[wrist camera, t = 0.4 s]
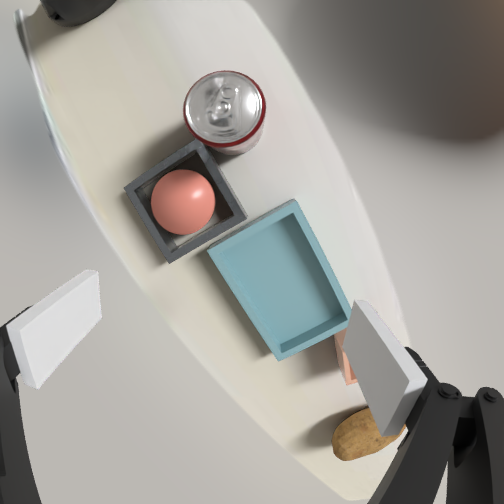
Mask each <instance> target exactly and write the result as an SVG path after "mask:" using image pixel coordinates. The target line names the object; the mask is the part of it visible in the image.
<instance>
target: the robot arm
mask: <svg viewBox="0 0 504 504" xmlns="http://www.w3.org/2000/svg"><path fill="white" fill-rule="evenodd" d="M40 1H41V3H42V5H43V7H44V9H45V11H46V13H47V15H48V17H49V18H50V19H51V20H53V21H54V22H56V23H57V24H59V25H61V26H66V27H70V26H76V25H80V24H82V23H85V22H87V21H89V20H91V19H93V18H95V17H96V16H98V15H99V14H101V13H102V12H104V11H105V10H106V9H107V8H109V7H110V6H111V5H112V4H113V3H114V2H115V1H116V0H40ZM101 319H102V314H101V304H100V292H99V279H98V271H94V270H88V269H86V270H84V271H83V272H81V273H80V274H78V275H77V276H75V277H74V278H72V279H71V280H69V281H68V282H66V283H65V284H63V285H62V286H60V287H59V288H57V289H56V290H55V291H53V292H52V293H50V294H49V295H47V296H46V297H44V298H43V299H42V300H40V301H39V302H37V303H36V304H35V305H32V306H30V307H27V308H26V309H25V310H23V311H22V312H21V313H19V314H18V315H17V316H16V317H14V318H12V319H11V320H10V321H8V322H7V323H6V324H4V325H3V326H2V327H0V504H42V503H41V500H40V497H39V494H38V490H37V487H36V484H35V480H34V476H33V473H32V469H31V464H30V460H29V456H28V451H27V446H26V441H25V435H24V429H23V423H22V417H21V409H20V399H19V389H18V383H17V380H16V376H17V375H18V374H19V373H21V376H22V379H23V381H24V384H25V385H28V386H30V387H32V388H35V389H37V390H38V389H39V388H40V386H41V385H42V384H43V383H44V382H45V380H46V379H47V378H48V377H49V376H50V375H51V374H52V372H53V371H54V370H55V369H56V368H57V367H58V366H59V365H60V363H61V362H62V361H63V360H64V359H65V358H66V357H67V355H68V354H69V353H70V352H71V351H72V350H73V349H74V348H75V347H76V345H77V344H78V343H79V342H80V341H81V340H82V339H83V338H84V337H85V336H86V335H87V334H88V332H89V331H90V330H91V329H92V328H93V327H94V326H95V325H96V324H97V323H98V322H99V321H100V320H101ZM342 347H343V349H344V352H345V354H346V356H347V358H348V361H349V363H350V365H351V367H352V369H353V372H354V374H355V376H356V379H357V381H358V383H359V385H360V388H361V390H362V392H363V395H364V397H365V399H366V402H367V404H368V406H369V409H370V411H371V413H372V416H373V418H374V420H375V423H376V425H377V428H378V430H379V432H380V435H381V437H385V436H392V435H399V433H400V431H401V430H402V428H403V426H404V424H405V425H406V427H407V429H408V432H407V434H406V436H405V437H404V439H403V440H402V442H401V444H400V445H399V447H398V448H397V449H398V452H397V453H396V455H395V457H394V459H393V461H392V463H391V465H390V467H389V468H388V470H387V472H386V474H385V476H384V477H383V479H382V481H381V482H380V484H379V486H378V488H377V489H376V491H375V492H374V494H373V496H372V497H371V499H370V500H369V502H368V503H367V504H433V502H434V499H435V497H436V494H437V491H438V488H439V486H440V483H441V480H442V477H443V474H444V471H445V468H446V464H447V461H448V477H447V497H446V504H504V398H503V397H502V395H501V394H500V393H499V392H498V391H497V390H495V389H494V388H489V387H483V388H480V389H479V390H478V392H477V394H476V396H475V397H464V396H462V394H461V392H460V391H459V390H458V389H457V388H456V387H454V386H453V385H450V384H447V383H439V381H438V380H437V379H436V377H435V376H434V375H433V373H432V372H431V371H430V370H429V368H428V367H426V364H425V363H424V362H423V361H422V359H421V358H420V356H419V355H418V354H417V353H416V352H415V351H413V350H412V349H410V348H409V347H404V346H403V345H402V344H401V342H400V341H399V340H398V339H397V337H396V336H395V335H394V333H393V332H392V331H391V329H390V328H389V327H388V326H387V324H386V323H385V322H384V320H383V319H382V318H381V317H380V315H379V314H378V313H377V312H376V310H375V309H374V308H373V307H372V305H371V304H370V303H369V302H368V301H363V300H354V303H353V307H352V311H351V315H350V319H349V323H348V327H347V331H346V334H345V338H344V342H343V345H342Z"/></svg>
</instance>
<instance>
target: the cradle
mask: <svg viewBox="0 0 504 504" xmlns="http://www.w3.org/2000/svg"><path fill="white" fill-rule="evenodd" d="M196 153H198V154H199V156H200V157H201V159H202V161H203V162H204V164H205V166H206V167H207V169H208V171H209V173H210V174H211V176H212V178H213V179H214V181H215V183H216V184H217V186H218V188H219V189H220V191H221V193H222V195H223V196H224V198H225V200H226V201H227V203H228V205H229V206H230V208H231V210H232V212H233V213H234V214H233V215H231V216H229V217H228V218H226V219H224V220H223V221H221V222H219V223H217V224H216V225H214V226H212V227H211V228H209V229H207V230H205V231H204V232H202V233H200V234H199V235H197V236H195V237H194V238H192V239H190V240H189V241H187V242H185V243H184V244H182V245H180V246H179V247H177V246H176V244H175V243H174V241H173V239H172V238H171V236H170V234H169V233H168V231H167V230H166V229H164V228H163V227H162V226H161V225H160V224H159V223H158V221H157V220H156V218H155V216H154V214H153V211H152V207H151V203H150V201H149V199H148V198H147V196H146V194H145V192H144V191H143V188H144V187H146V186H147V185H148V184H150V183H151V182H153V181H154V180H156V179H157V178H159V177H160V176H162V175H163V174H165V173H166V172H168V171H169V170H171V169H172V168H174V167H175V166H177V165H179V164H180V163H182V162H183V161H185V160H186V159H188V158H190V157H191V156H193V155H194V154H196ZM124 189H125V191H126V193H127V195H128V196H129V198H130V200H131V202H132V203H133V205H134V207H135V209H136V210H137V212H138V214H139V215H140V217H141V219H142V220H143V222H144V224H145V226H146V227H147V229H148V231H149V232H150V234H151V235H152V237H153V239H154V240H155V242H156V244H157V245H158V247H159V248H160V250H161V252H162V253H163V255H164V256H165V258H166V260H167V261H168V263H169V264H170V263H172V262H173V261H175V260H177V259H178V258H180V257H182V256H183V255H185V254H187V253H189V252H190V251H192V250H194V249H195V248H197V247H199V246H201V245H202V244H204V243H206V242H207V241H209V240H211V239H213V238H214V237H216V236H218V235H220V234H221V233H223V232H225V231H226V230H228V229H230V228H232V227H233V226H235V225H237V224H239V223H241V222H242V221H244V220H246V219H247V216H248V215H247V213H246V212H245V210H244V208H243V207H242V205H241V203H240V201H239V200H238V198H237V196H236V195H235V193H234V191H233V189H232V188H231V186H230V184H229V183H228V181H227V179H226V178H225V176H224V174H223V172H222V171H221V169H220V167H219V166H218V164H217V162H216V161H215V159H214V157H213V156H212V154H211V152H210V151H209V149H208V147H207V145H206V144H204V143H202V142H200V141H199V140H198V139H195V140H194V141H192V142H190V143H189V144H187V145H186V146H184V147H182V148H181V149H179V150H178V151H176V152H175V153H173V154H172V155H170V156H169V157H167V158H166V159H164V160H163V161H161V162H160V163H158V164H157V165H155V166H154V167H152V168H151V169H149V170H148V171H146V172H145V173H144V174H142V175H141V176H139V177H138V178H137V179H135V180H134V181H132V182H131V183H130V184H128V185H127V186H126V187H124Z"/></svg>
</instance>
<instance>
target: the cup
mask: <svg viewBox="0 0 504 504" xmlns="http://www.w3.org/2000/svg"><path fill="white" fill-rule="evenodd" d="M346 331H347V328H345V329H343V330H341V331H339V332H337V333H335V334H334V339H335V348H336V352H337V359H338V365H339V367H340V370H341V372H342V375H343V377H344V380H345V382H346V385H350V384H353V383H356V382H358V381H357V379H356V376H355V374H354V372H353V369H352V367H351V365H350V363H349V361H348V358H347V356H346V354H345V352H344V349H343V347H342V345H343V342H344V338H345V334H346Z"/></svg>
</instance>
